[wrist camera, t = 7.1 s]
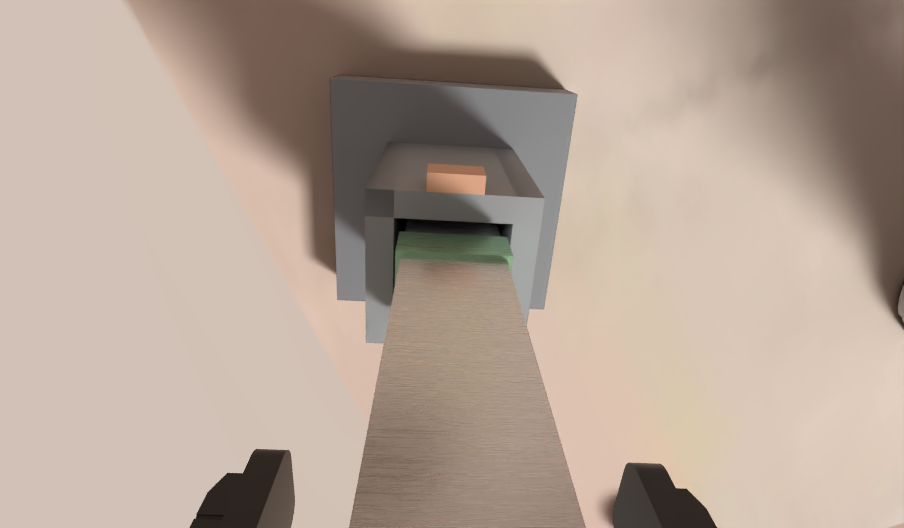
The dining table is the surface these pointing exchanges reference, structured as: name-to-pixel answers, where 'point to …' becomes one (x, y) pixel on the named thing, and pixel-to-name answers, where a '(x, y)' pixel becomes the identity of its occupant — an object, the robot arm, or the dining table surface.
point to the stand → (444, 176)
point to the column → (460, 396)
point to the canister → (901, 304)
